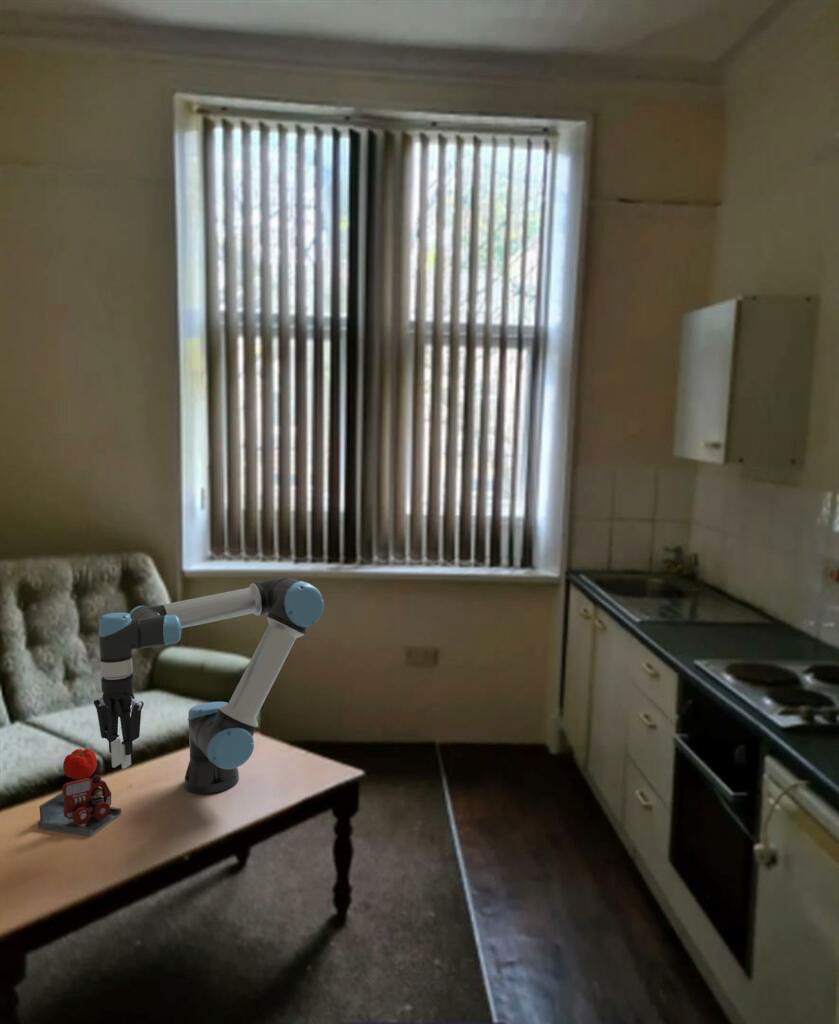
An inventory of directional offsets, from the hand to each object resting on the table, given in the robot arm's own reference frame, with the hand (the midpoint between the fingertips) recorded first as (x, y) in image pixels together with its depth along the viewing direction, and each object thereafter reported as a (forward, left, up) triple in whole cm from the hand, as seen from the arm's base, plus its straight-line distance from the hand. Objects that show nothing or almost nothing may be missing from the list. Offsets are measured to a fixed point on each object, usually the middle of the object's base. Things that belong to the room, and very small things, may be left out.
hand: (121, 765), depth 190 cm
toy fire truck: (+11, 0, -15) cm, 19 cm away
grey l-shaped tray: (+14, 0, -16) cm, 21 cm away
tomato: (+33, -23, -17) cm, 43 cm away
